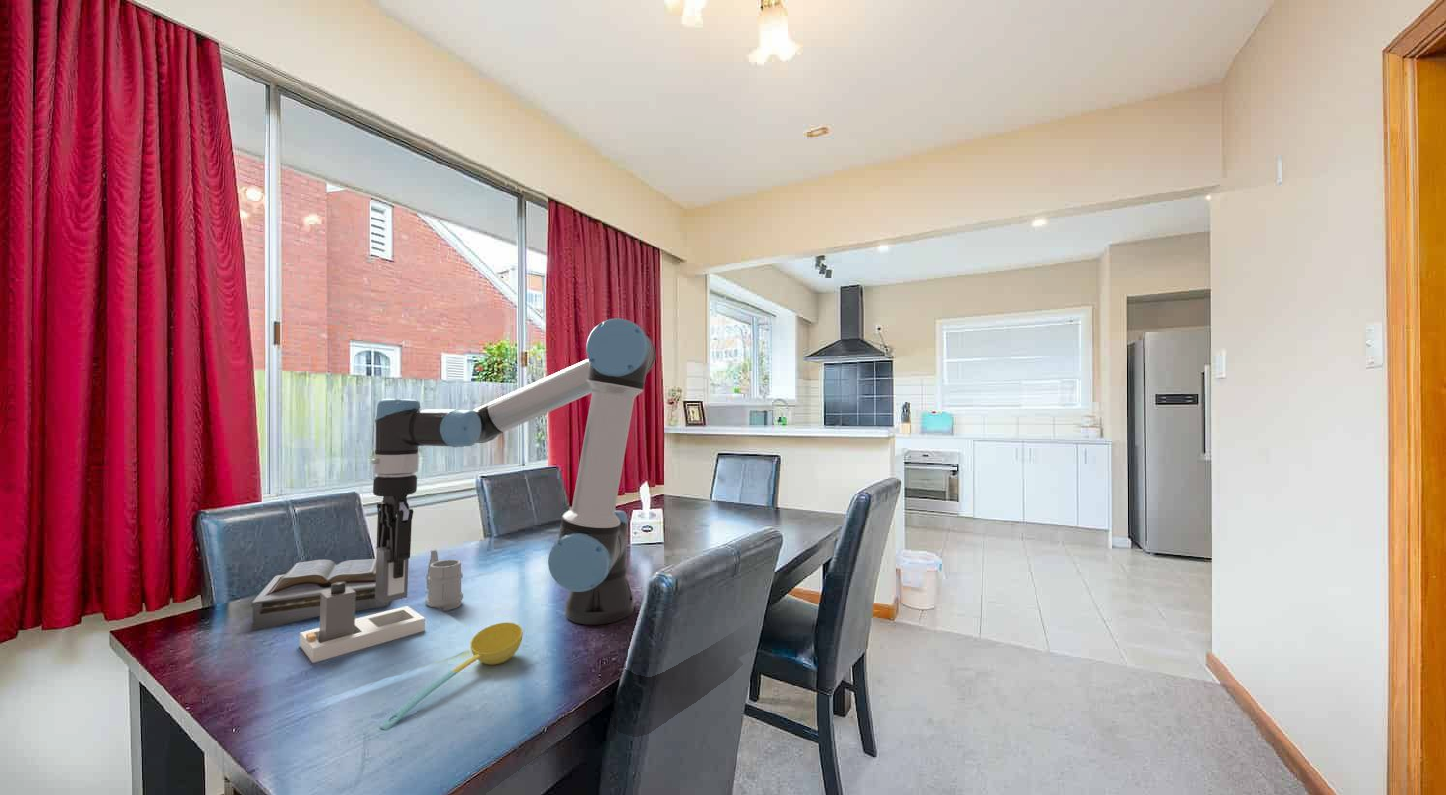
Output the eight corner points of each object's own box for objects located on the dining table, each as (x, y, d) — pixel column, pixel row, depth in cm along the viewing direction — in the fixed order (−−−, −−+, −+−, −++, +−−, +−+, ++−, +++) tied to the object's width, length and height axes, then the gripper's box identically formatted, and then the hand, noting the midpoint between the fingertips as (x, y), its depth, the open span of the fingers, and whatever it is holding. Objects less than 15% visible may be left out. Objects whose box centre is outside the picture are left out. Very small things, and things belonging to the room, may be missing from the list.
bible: (284, 596, 125) (285, 555, 125) (410, 585, 134) (411, 547, 134) (228, 635, 103) (230, 586, 103) (383, 619, 112) (385, 573, 112)
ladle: (535, 648, 97) (532, 621, 96) (410, 768, 72) (404, 734, 71) (498, 639, 100) (494, 612, 99) (365, 752, 75) (359, 718, 74)
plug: (407, 597, 103) (409, 539, 104) (382, 603, 100) (384, 543, 100) (399, 592, 106) (401, 536, 107) (374, 597, 103) (377, 539, 103)
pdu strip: (424, 635, 103) (425, 614, 103) (312, 668, 89) (313, 643, 90) (406, 622, 110) (407, 602, 110) (299, 651, 96) (300, 628, 96)
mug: (435, 615, 114) (437, 560, 114) (411, 603, 121) (412, 551, 121) (469, 604, 120) (470, 553, 120) (444, 594, 127) (445, 545, 127)
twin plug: (353, 645, 96) (355, 583, 97) (324, 653, 93) (327, 589, 93) (347, 638, 99) (349, 578, 100) (318, 646, 96) (321, 583, 96)
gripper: (361, 472, 107) (356, 585, 106) (389, 480, 95) (384, 606, 95) (401, 469, 112) (397, 576, 112) (432, 477, 101) (428, 596, 100)
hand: (391, 590), depth 103 cm, fingers closed on plug, 4 cm apart
